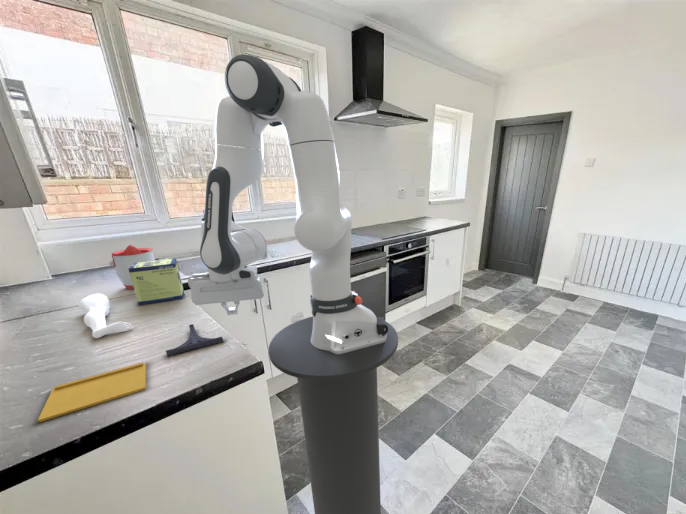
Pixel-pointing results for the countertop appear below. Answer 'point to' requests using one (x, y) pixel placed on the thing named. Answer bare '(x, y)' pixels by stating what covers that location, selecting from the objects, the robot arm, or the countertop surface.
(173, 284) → the protein box
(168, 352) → the bracket
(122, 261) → the citrus juicer
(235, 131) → the robot arm
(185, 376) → the countertop surface
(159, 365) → the countertop surface
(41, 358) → the countertop surface
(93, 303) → the leg
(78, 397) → the tray
